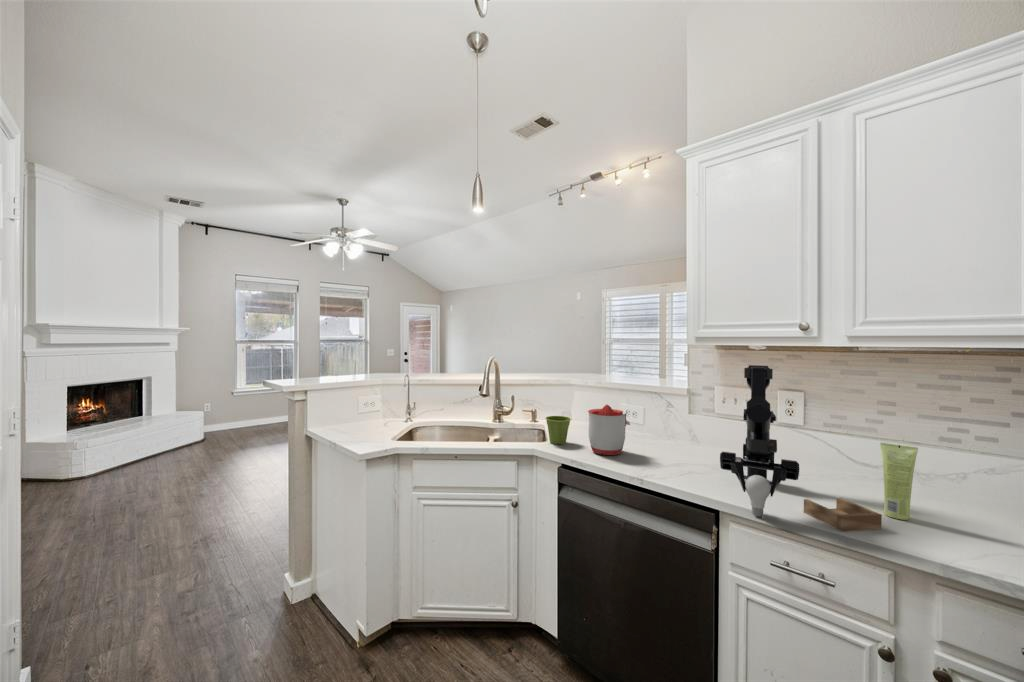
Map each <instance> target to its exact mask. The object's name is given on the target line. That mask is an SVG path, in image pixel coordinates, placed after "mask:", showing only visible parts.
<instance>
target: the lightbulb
mask: <svg viewBox="0 0 1024 682" xmlns="http://www.w3.org/2000/svg"><path fill="white" fill-rule="evenodd" d="M768 480H769V479H768V478H767V479H765V478H764V477H762V476H759V475H752V476H750V477H748V478H747V479H745V492H746V493H747V495H748V496H749V501H750V506H751V513H752V514H753V515H754V516H755V517H757V518H759V517H762V516H764V509H765V505H766V501H767V499H768V498H769V495H771V484H770V483H769V482H768Z"/></svg>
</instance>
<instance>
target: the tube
mask: <svg viewBox="0 0 1024 682" xmlns="http://www.w3.org/2000/svg"><path fill="white" fill-rule="evenodd" d="M879 445H880V451H881V457H882V467H883V468H882V469H883V472H882V473H883V490H884V492H883V493H884V503H883V504H884V515H886V516H888V517H890V518H893V519H897V520H900V521H901V520H902V521H907V520H910V513H911V512H910V510H911V498H912V488H913V482H914V481H913V479H914V474H915V473H914V472H915V466H916V460H917V454H918V451H919V447H917V446H909V445H902V444H894V443H888V442H880V444H879Z"/></svg>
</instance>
